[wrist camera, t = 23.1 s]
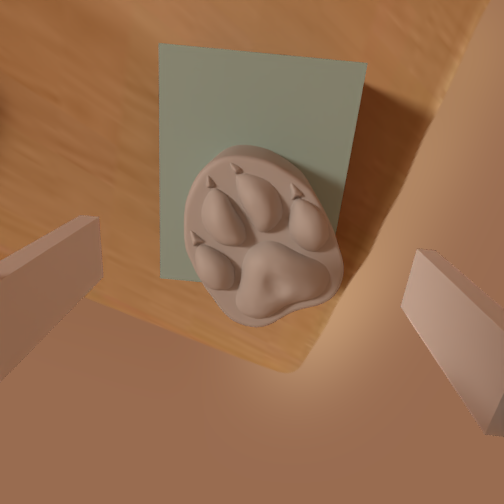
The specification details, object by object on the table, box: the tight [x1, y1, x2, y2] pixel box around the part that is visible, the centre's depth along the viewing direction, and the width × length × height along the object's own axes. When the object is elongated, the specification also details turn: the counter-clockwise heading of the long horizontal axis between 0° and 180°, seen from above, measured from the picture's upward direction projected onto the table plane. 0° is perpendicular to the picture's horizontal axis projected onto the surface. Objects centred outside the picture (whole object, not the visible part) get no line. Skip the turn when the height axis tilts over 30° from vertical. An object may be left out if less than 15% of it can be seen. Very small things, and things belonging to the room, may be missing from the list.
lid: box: [159, 43, 368, 282], centre depth 32 cm, size 20×16×1 cm
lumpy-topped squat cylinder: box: [184, 145, 344, 327], centre depth 28 cm, size 10×13×9 cm
